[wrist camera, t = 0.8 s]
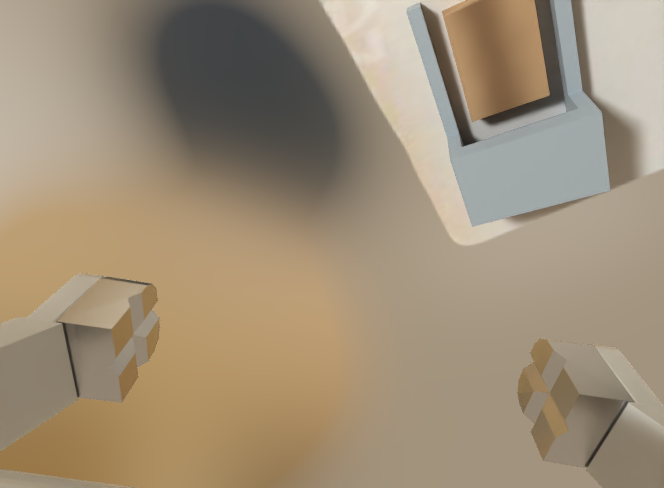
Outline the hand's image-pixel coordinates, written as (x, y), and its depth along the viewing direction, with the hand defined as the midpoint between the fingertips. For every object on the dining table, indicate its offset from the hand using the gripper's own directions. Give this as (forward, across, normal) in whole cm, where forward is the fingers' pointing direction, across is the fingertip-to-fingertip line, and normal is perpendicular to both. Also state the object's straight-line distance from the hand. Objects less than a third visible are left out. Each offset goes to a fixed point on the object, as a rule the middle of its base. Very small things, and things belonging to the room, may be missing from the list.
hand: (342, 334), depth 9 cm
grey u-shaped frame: (+38, -14, -2) cm, 40 cm away
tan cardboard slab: (+38, -12, -5) cm, 40 cm away
